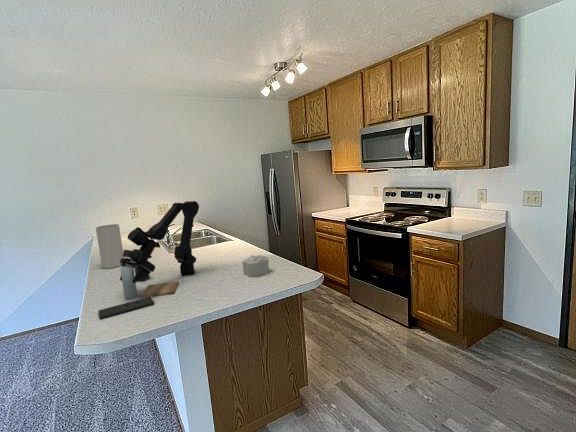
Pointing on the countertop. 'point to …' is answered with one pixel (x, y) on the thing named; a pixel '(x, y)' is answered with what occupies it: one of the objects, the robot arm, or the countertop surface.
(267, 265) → the lumpy-topped squat cylinder
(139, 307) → the smart home device
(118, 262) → the cylinder vase
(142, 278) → the supplement bottle
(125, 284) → the slate round-topped tapered cone
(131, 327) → the countertop surface
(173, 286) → the walnut board
